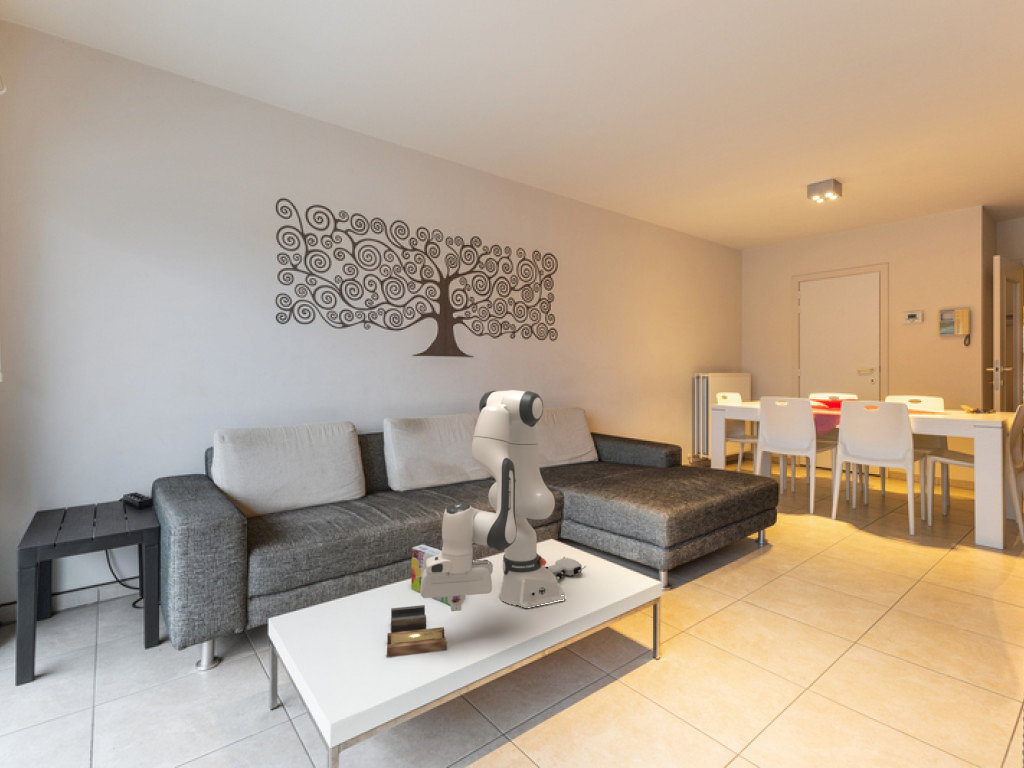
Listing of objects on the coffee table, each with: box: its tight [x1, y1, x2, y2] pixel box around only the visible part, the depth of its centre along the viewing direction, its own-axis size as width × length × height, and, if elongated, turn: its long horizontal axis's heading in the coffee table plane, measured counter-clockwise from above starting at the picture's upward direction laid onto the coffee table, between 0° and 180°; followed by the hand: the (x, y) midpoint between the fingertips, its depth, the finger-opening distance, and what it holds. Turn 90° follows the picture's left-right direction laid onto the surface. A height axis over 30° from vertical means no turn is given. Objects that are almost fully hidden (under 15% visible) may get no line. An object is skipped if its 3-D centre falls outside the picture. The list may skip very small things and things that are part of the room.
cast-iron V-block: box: [390, 604, 427, 633], centre depth 151 cm, size 10×8×5 cm
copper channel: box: [386, 626, 448, 658], centre depth 142 cm, size 16×8×2 cm, turn 103°
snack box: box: [410, 543, 461, 607], centre depth 175 cm, size 21×6×15 cm, turn 50°
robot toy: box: [544, 556, 587, 581], centre depth 193 cm, size 12×4×15 cm
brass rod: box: [390, 629, 443, 645], centre depth 142 cm, size 14×4×4 cm, turn 103°
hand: (456, 610), depth 144 cm, fingers closed
